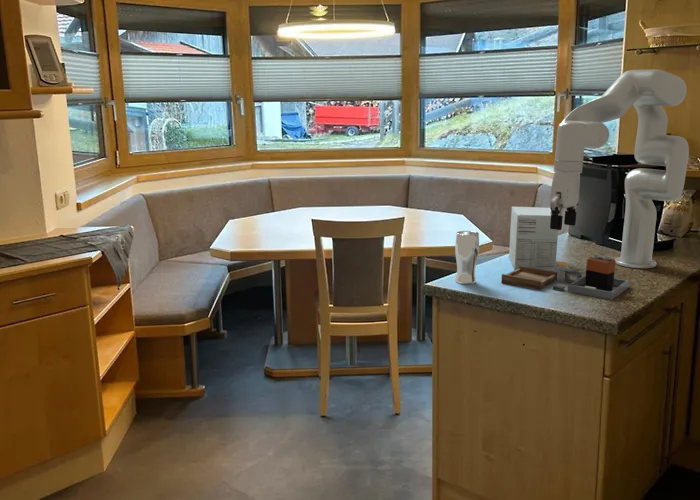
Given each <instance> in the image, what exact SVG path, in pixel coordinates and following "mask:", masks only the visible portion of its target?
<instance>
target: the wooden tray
mask: <svg viewBox="0 0 700 500" xmlns="http://www.w3.org/2000/svg"><path fill="white" fill-rule="evenodd" d="M500 281H501V284H505V285H511V286H516V287H521V288H526V289H531V290H532V289H533V290H537V291H541V290H543V289H545V288H546V287H548V286H550V285H552V284H553V283H555V282H557V281H558V271H547V270H541V269H536V268H530V267H524V266H519V269H516V270H514V269H513V270H512V271H510V272H509V273H506V274H505V273H502V274H501V280H500Z"/></svg>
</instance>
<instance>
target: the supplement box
mask: <svg viewBox="0 0 700 500" xmlns="http://www.w3.org/2000/svg"><path fill="white" fill-rule="evenodd" d="M550 208H551V207H536V206H535V207H534V206H511V213H510V214H511V215H510V216H511V217H510V231H509V232H510V234H509V249H508V250H509V251H508V252H509V253H508V255H509V256H508V259H509V261H510V263H511V265H512V267H513V271H514V270H516V269H519V266H524V267H530V268H536V269H541V270H547V271H553V272H556V264H557V251H558V250H557V248H558V236H559V230H555V229H550V221H551V209H550Z"/></svg>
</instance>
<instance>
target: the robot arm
mask: <svg viewBox="0 0 700 500" xmlns="http://www.w3.org/2000/svg"><path fill="white" fill-rule="evenodd" d="M687 91H688V90H687V85H686V82H685V80H683V78H681V77H680V76H677V75H675V74H673V73H670V72H668V71H665V70H661V69H656V68H655V69H630V70H627V71H624V72H622V73H621V74H620V75H619V76H618V77H617V79H616V80H615V81H613V83H612V84H611V85H610V86H609V87H608V88H607V89H606V90H605V92H603V94H602V95H601V96H599V97H596V98H594V99H592V100H590V101H587V102H586V103H583V104H581V105H579V106H577V107H576V108H574V109H572V111H570V112H569V113H568V115H566V117H564V118H563V120H562V121H561V122H560V123H559V124H558V126H557V131H556V142H555V143H556V144H555V153H554V154H555V155H554V156H555V157H554V167H553V168H554V169H553V172H554V173H553V177H552V182H551V187H550V196H549V206H550V207H549V208H550V209H551V221H550V229H555V230H558V231H561V230H562V229H563V228H562V227H563V224H564V225H565V226H573V227H575V225H576V223H577V213H578V205H579V198H580V190H581V189H580V188H581V187H580V185H581V174H582V173H583V167H584V166H583V165H584V153H585V149H600V148H602V147H603V146H605V145H606V143H608V140H609V138H610V131H609V129H608V127H607V125H606V124H604V123H607V122H611V121H614V120H618V119H620V118H622V117H624V115H626V113H627V112H628V111H629V109H630V108H631V107H632V106H633V107H634V109H635V111H636V114H637V118H638V119H637V120H638V122H637V131H636V137H635V145H634V152H633V153H634V159H635V161H636V162H637V163H639V164H642V165H643V164H644V165H649V166H651V165H652V166H662V167H665V170H663V169H655V168H654V169H653V168H644V167H643V168H641V167H639V168H635V169H632V170H630V171H628V173H627V174H626V176H625V178H624V193H625V194H624V195H625V209H624V210H625V212H624V220H623V221H624V222H623V231H622V241H621V251H620V256H617V257H615V259H614V260H615V261H616V262H615V264H617V265H618V266H622V267H626V268H632V269H652V268H653V269H654V268H655V267H657V262H656V260H654V259H653V252H654V251H653V250H654V242H655V236H656V235H655V233H656V225H657V224H656V223H657V208H656V206H655V204H654V202H653V201H660V202H662V201H663V202H671V203H673V202H676V201H678V200H679V199H680V198H681V196H682V195H683V192H684V189H685V187H684V186H685V182H686V175H687V170H688V169H687V168H688V163H689V156H690V146H689V143H688V141H687V139H686V138H684V137H683V136H679V135H667V130H668V129H667V128H668V123H669V122H668V121H669V118H668V115H667V112H666V111H665V109H664V107H675V106H679V105H680V104H681V103H683V101H685V99H686V97H687ZM565 209H566V210H565ZM564 210H565V211H564ZM563 212H564V215H563ZM563 217H564V218H563ZM563 219H564V220H563Z"/></svg>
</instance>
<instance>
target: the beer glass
mask: <svg viewBox="0 0 700 500" xmlns="http://www.w3.org/2000/svg"><path fill="white" fill-rule="evenodd" d="M454 253H455V260H456V275H455V280H454V281H455V283H457V284H459V285H474V284H476V283H477V279H476V278H477V277H476V266H477V262H478V257H479V253H480V233H479V232H477V231H472V230H460V231H456V236H455V248H454Z"/></svg>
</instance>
